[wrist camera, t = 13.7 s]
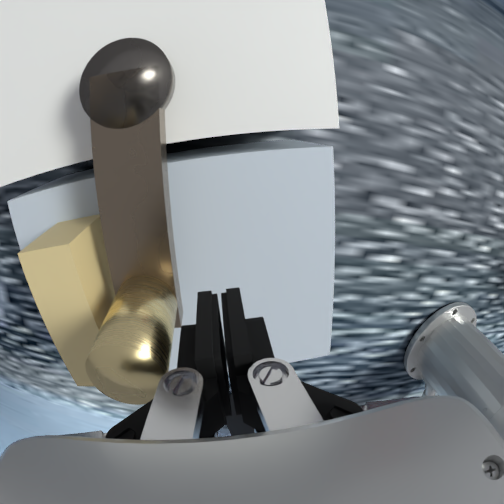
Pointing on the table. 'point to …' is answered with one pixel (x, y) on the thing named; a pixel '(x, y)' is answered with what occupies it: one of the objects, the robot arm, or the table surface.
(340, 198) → the table surface
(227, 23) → the pair of pale cubes
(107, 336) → the bar
